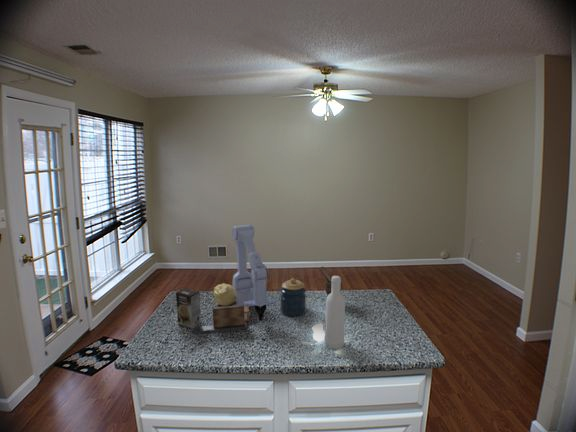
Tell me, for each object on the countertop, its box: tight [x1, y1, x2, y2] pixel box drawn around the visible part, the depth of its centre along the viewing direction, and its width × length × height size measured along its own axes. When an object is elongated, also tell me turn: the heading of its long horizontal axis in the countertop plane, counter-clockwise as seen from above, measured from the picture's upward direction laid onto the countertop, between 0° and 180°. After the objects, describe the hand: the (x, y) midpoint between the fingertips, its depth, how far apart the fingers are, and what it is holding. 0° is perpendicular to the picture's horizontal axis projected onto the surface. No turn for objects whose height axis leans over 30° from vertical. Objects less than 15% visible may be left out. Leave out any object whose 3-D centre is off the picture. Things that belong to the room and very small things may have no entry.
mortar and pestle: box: [319, 266, 343, 296], centre depth 178 cm, size 12×9×20 cm
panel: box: [212, 305, 246, 327], centre depth 154 cm, size 14×2×9 cm, turn 100°
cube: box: [244, 307, 250, 322], centre depth 163 cm, size 5×5×5 cm
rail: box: [192, 321, 248, 335], centre depth 154 cm, size 24×4×1 cm, turn 100°
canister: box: [279, 277, 307, 318], centre depth 170 cm, size 13×13×18 cm
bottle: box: [324, 275, 346, 350], centre depth 139 cm, size 8×8×30 cm
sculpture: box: [213, 282, 236, 307], centre depth 179 cm, size 11×12×11 cm
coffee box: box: [175, 287, 202, 329], centre depth 158 cm, size 9×6×16 cm
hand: (260, 319), depth 157 cm, fingers closed
